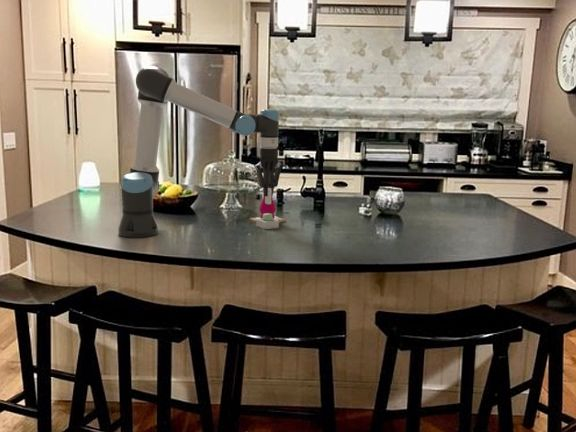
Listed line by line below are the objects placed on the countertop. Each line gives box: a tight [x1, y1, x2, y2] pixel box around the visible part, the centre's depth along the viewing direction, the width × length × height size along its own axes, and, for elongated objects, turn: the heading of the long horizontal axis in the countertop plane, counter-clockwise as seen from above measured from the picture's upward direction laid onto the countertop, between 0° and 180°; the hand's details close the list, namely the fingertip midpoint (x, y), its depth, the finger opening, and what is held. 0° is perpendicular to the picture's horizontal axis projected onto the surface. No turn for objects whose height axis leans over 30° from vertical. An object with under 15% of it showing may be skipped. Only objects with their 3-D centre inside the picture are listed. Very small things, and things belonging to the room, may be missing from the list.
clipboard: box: [248, 215, 287, 224], centre depth 255 cm, size 13×10×1 cm
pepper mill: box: [258, 187, 277, 219], centre depth 253 cm, size 7×7×20 cm
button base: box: [255, 218, 280, 230], centre depth 245 cm, size 7×7×3 cm
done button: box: [263, 213, 272, 222], centre depth 244 cm, size 4×4×4 cm
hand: (268, 203), depth 243 cm, fingers closed
